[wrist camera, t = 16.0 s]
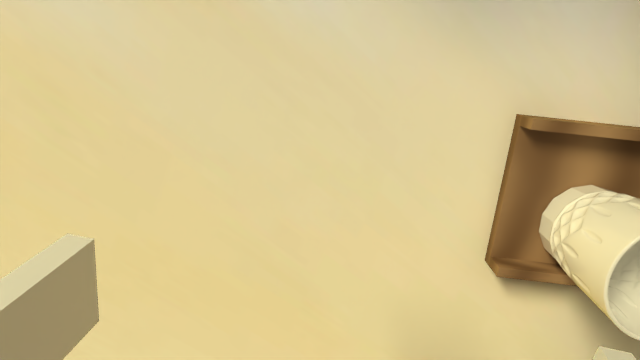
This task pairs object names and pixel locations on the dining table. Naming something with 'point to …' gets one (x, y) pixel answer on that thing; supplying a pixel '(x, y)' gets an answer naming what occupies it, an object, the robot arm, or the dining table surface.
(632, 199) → the white cup
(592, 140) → the brown wooden stand
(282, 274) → the dining table surface
